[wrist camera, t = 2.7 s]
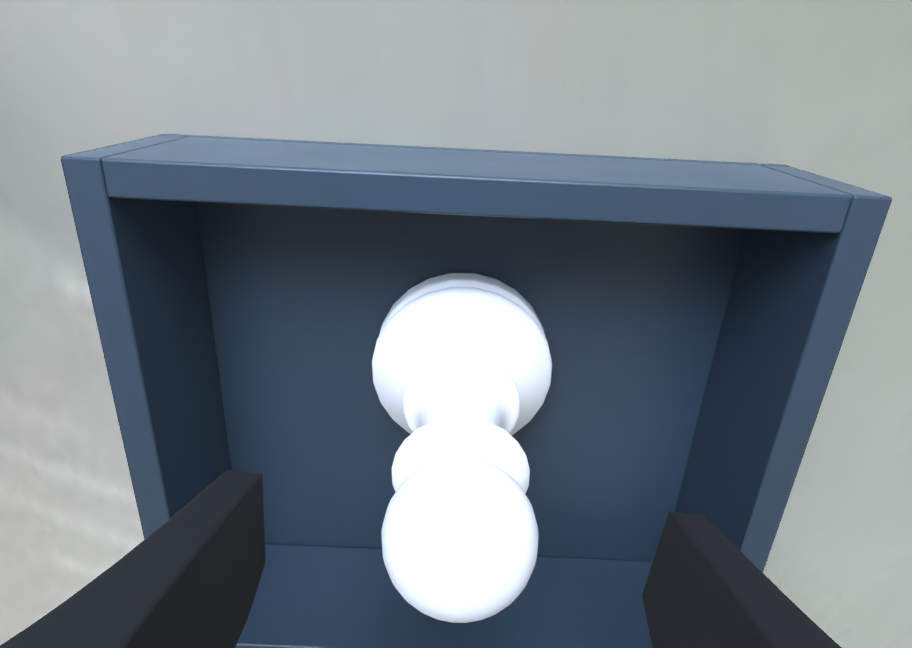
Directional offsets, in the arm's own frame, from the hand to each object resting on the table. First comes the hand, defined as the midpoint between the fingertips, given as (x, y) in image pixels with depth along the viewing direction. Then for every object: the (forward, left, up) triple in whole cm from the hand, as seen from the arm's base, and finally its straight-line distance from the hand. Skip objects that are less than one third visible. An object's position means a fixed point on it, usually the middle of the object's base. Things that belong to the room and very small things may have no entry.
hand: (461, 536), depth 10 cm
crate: (-1, -1, -8) cm, 8 cm away
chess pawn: (0, 0, -8) cm, 8 cm away
